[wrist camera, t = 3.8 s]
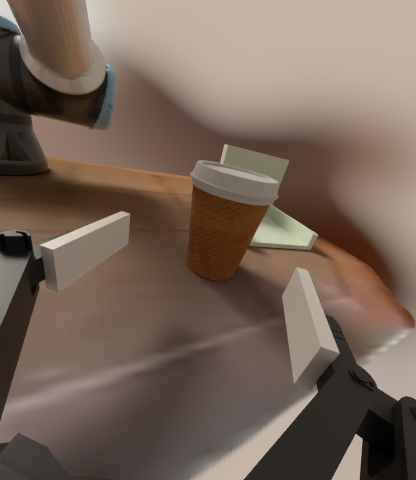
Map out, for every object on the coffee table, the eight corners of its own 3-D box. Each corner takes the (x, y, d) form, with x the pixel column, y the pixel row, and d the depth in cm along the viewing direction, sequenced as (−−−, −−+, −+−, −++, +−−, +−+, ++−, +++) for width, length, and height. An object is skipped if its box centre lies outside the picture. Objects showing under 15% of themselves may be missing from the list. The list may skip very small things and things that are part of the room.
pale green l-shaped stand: (209, 207, 49) (224, 144, 43) (263, 214, 54) (284, 159, 48) (239, 245, 34) (269, 156, 28) (310, 250, 39) (348, 176, 33)
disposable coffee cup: (158, 261, 25) (173, 156, 19) (202, 240, 32) (221, 161, 27) (224, 304, 21) (265, 187, 15) (257, 269, 28) (292, 183, 23)
